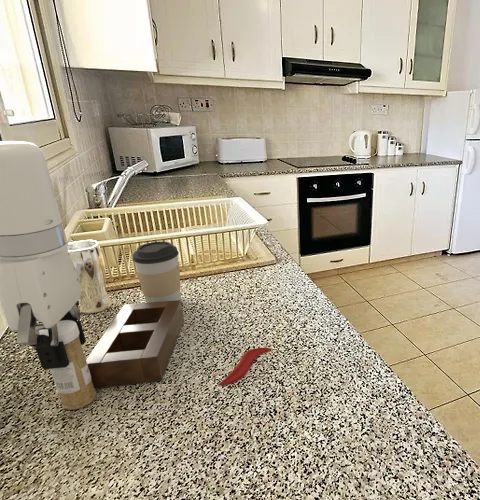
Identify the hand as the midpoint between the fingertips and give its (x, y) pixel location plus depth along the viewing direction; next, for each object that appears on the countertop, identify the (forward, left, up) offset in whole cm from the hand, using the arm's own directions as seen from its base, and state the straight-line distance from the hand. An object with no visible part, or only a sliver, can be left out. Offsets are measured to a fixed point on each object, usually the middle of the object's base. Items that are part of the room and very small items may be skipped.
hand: (65, 354), depth 55 cm
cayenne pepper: (+25, +4, -9) cm, 27 cm away
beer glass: (-9, +31, -9) cm, 34 cm away
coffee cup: (+6, +29, -9) cm, 31 cm away
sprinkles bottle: (0, 0, -9) cm, 9 cm away
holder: (+6, +12, -9) cm, 16 cm away
